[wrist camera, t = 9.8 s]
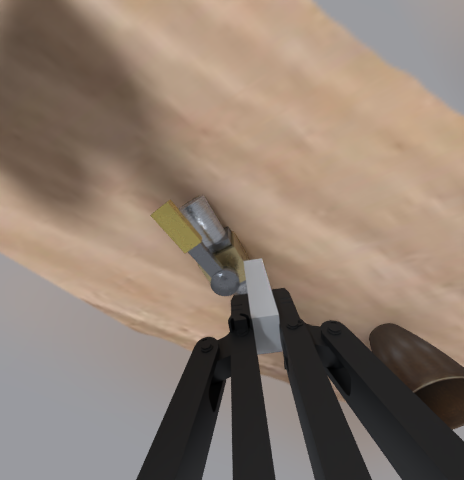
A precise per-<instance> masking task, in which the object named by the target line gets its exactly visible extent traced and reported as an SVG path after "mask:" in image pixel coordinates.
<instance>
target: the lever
mask: <svg viewBox="0 0 464 480" xmlns="http://www.w3.org/2000/svg"><path fill="white" fill-rule="evenodd" d="M150 216H151V217H152V218H153V219H154V220H155V221H156V222H157V223H158V224H159V226H160V227H161V228H162V229H163V230H164V231H165V232H166V233H167V234H168V235H169V236H170V238H171V239H172V240H173V241H174V242H175V243H176V244H177V245H178V246H179V247H180V249H181V250H182V251H183V252H184V253H187V252H188V253H189V254H190V255H191V256H192V257H193V258H194V259H195V260H196V262H197V263H198V264H199V265H200V266H201V267H202V268H203V269H204V270H205V271H206V273H207V274H208V275H209V276H210V277H211V288H212V290H213V291H214V292H215V293H216V294H218V295H221V296H229V295H232V294H234V293H235V292H236V291H237V290H238V289H239V286H240V281H239V274H238V272H237V271H236V270H235V269H234V268H232V267H229V266H222V264H221V263H220V262H219V261H218V260H217V259H216V257H215V256H214V255H213V254H212V253H211V252H210V250H209V249H208V248H207V247H206V246H205V245H204V243H203V242H202V236H201V235H200V234H199V233H198V232H197V231H196V229H195V228H194V227H193V226H192V225H191V223H190V222H189V221H188V220H187V219H186V218H185V216H184V215H183V214H182V213H181V212H180V211H179V209H178V208H177V207H176V206H175V205H174V203H173V202H172V201H171V200H169V201H168V202H166V203H165V204H164V205H163V206H161V207H160V208H159V209H157V210H156V211H155V212H154V213H153V214H151V215H150Z"/></svg>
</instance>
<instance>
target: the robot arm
mask: <svg viewBox="0 0 464 480" xmlns="http://www.w3.org/2000/svg"><path fill="white" fill-rule="evenodd" d="M243 262H244V269H245V277H246V284H247V291H248V293H247V294H240V295H234V296H233V298H232V300H231V316H230V318H229V320H228V324H229V329H230V332H229V334H228V335H227V336H225V337H223V338H221V339H219V340H216V339H215V338H213V337H205V338H203V339H201V340H199V341H198V342H197V344H196V345H195V347H194V349H193V351H192V354H191V356H190V358H189V361H188V363H187V365H186V367H185V370H184V372H183V374H182V377H181V379H180V381H179V383H178V386H177V388H176V390H175V393H174V395H173V397H172V399H171V402H170V404H169V407H168V409H167V411H166V413H165V415H164V418H163V420H162V422H161V425H160V427H159V429H158V431H157V434H156V436H155V438H154V441H153V443H152V445H151V448H150V450H149V452H148V454H147V457H146V459H145V461H144V463H143V466H142V468H141V470H140V473H139V475H138V477H137V479H136V480H202V476H203V472H204V468H205V464H206V460H207V455H208V452H209V448H210V444H211V440H212V436H213V431H214V428H215V424H216V420H217V416H218V412H219V407H220V403H221V400H222V395H223V392H224V387H225V383H226V379H227V378H229V377H231V399H232V400H231V401H232V454H233V455H232V459H233V480H275V473H274V466H273V459H272V452H271V445H270V439H269V432H268V425H267V418H266V411H265V404H264V397H263V390H262V383H261V376H260V369H259V362H258V356H257V355H258V354H266V353H274V352H282V350H283V355H284V366H285V369H286V370H287V374H288V377H289V381H290V385H291V388H292V393H293V396H294V400H295V404H296V408H297V412H298V416H299V420H300V424H301V428H302V431H303V435H304V439H305V443H306V447H307V451H308V455H309V459H310V462H311V466H312V470H313V474H314V478H315V480H372V479H371V476H370V474H369V472H368V470H367V467H366V465H365V462H364V460H363V458H362V455H361V453H360V451H359V449H358V446H357V444H356V441H355V439H354V437H353V435H352V432H351V430H350V428H349V425H348V423H347V421H346V418H345V416H344V414H343V411H342V409H341V407H340V404H339V402H338V400H337V397H336V395H335V393H334V390H333V388H332V386H331V383H330V381H329V379H328V377H329V378H330V380H331V381H332V382H333V384H334V385H335V387H336V388H337V389H338V391H339V392H340V394H341V395H342V396H343V398H344V399H345V401H346V402H347V403H348V405H349V406H350V407H351V409H352V410H353V412H354V413H355V414H356V416H357V417H358V419H359V420H360V421H361V423H362V424H363V426H364V427H365V428H366V429H367V431H368V433H369V434H370V435H371V437H372V438H373V439H374V441H375V442H376V444H377V445H378V447H379V448H380V449H381V451H382V452H383V454H384V455H385V456H386V458H387V459H388V461H389V462H390V463H391V465H392V466H393V467H394V469H395V470H396V472H397V473H398V475H399V476H400V477H401V479H402V480H464V441H463V440H462V439H461V438H460V437H459V436H458V435H457V434H456V433H455V432H454V431H453V430H452V429H451V428H450V427H448V426H447V425H446V424H445V423H444V422H443V421H442V420H441V419H440V418H439V417H438V416H437V415H436V414H435V413H434V412H433V411H432V410H431V409H430V408H429V407H428V406H427V405H426V404H425V403H424V402H423V401H422V400H421V399H420V398H419V397H418V396H417V395H416V394H415V393H414V392H413V391H412V390H410V389H409V388H408V387H407V386H406V385H405V384H404V383H403V382H402V381H401V380H400V379H399V378H398V377H397V376H396V375H395V374H394V373H393V372H392V371H391V370H390V369H389V368H388V367H387V366H386V365H385V364H384V363H383V362H382V361H381V360H380V359H379V358H378V357H377V356H376V355H375V354H374V353H373V352H371V351H370V350H369V349H368V348H367V347H366V346H365V345H364V344H363V343H362V342H361V341H360V340H359V339H358V338H357V337H356V336H355V335H354V334H353V333H352V332H351V331H350V330H349V329H348V328H347V327H346V326H345V325H343V324H342V323H340V322H337V321H331V320H330V321H326V322H324V323H322V325H321V327H319V326H312V325H308V324H306V323H304V321H303V320H302V319H300V317H299V315H298V313H297V310H296V308H295V305H294V303H293V301H292V298H291V296H290V293H289V292H288V291H287V290H286V289H285V288H280V289H273V290H271V287H270V284H269V280H268V277H267V274H266V270H265V267H264V264H263V261H262V258H261V259H254V260H247V261H243ZM327 375H328V376H327Z"/></svg>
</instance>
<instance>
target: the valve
mask: <svg viewBox="0 0 464 480" xmlns="http://www.w3.org/2000/svg"><path fill="white" fill-rule="evenodd" d="M179 211H180V212H181V213H182V214H183V215H184V216H185V218H186V219H187V220H188V221H189V222H190V223H191V225H192V226H193V227H194V228H195V229H196V231H197V232H198V233H199V234H200V235H201V236H202V242H203V243H204V245H205V246H206V247H207V248H208V249H209V250H210V252H211V253H212V254H213V255H214V256H215V257H216V259H217V260H218V261H219V262H220V263H221V264H222V266H229V267H232V268H234V269H235V270H236V271H237V272H238V274H239V281H240V286H239V289H238V290H237V291H236V292H235V293H234V294H233V295H240V294H247V293H248V291H247V284H246V277H245V269H244V262H243V261H247V260H249V257H248V256H247V254H246V252H245V250H244V249H243V247H242V245H241V244H240V242H239V240H238V238H237V237H236V235H235V233H234V232H231V231H230V229H229V227H226V228H223V227H222V225H221V223H220V222H219V220H218V218H217V217H216V215H215V213H214V212H213V210H212V208H211V207H210V205H209V203H208V202H207V200H206V198H205V197H204V195H201V196H199V197H197V198H195V199H193V200H191V201H189V202H188V203H186V204H185V205H183V206H182V207H181V208H179ZM198 266H199V267H200V269H201V270H202V272H203V273H204V275H205V276H206V278H207V279H208V280H209V282H210V283H211V277H210V276H209V275H208V274H207V273H206V271H205V270H204V269H203V268H202V267H201V266H200V265H199V264H198Z"/></svg>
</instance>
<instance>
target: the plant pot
mask: <svg viewBox="0 0 464 480" xmlns="http://www.w3.org/2000/svg"><path fill="white" fill-rule="evenodd" d="M369 340H370V345H371V349H372V352H373V353H374V354H375V355H376V356H377V357H378V358H379V359H380V360H381V361H382V362H383V363H384V364H385V365H386V366H387V367H388V368H389V369H390V370H391V371H392V372H393V373H394V374H395V375H396V376H397V377H398V378H399V379H400V380H401V381H402V382H403V383H404V384H405V385H406V386H407V387H408V388H409V389H410V390H412V391H413V392H414V393H415V394H416V395H417V396H418V397H419V398H420V399H421V400H422V401H423V402H424V403H425V404H426V405H427V406H428V407H429V408H430V409H431V410H432V411H433V412H434V413H435V414H436V415H437V416H438V417H439V418H440V419H441V420H442V421H443V422H444V423H445V424H446V425H447V426H448V427H450V428H451V429H452V430H453V429H455V428H458V427H461V426H463V425H464V367H462V366H461V365H460V364H458V363H457V362H456V361H454V360H453V359H452V358H450V357H449V356H447V355H446V354H445V353H443V352H442V351H440V350H439V349H437V348H436V347H434V346H433V345H431V344H430V343H428V342H426V341H425V340H423V339H421V338H420V337H418V336H416V335H415V334H413V333H411V332H409V331H407V330H406V329H404V328H402V327H400V326H398V325H396V324H390V323H389V324H383V325H380V326H378V327H377V328H375V329H374V330H373V331H372V332H371V334H370V337H369Z"/></svg>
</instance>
